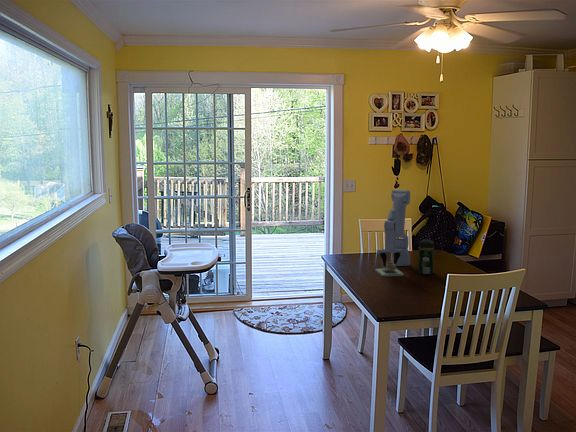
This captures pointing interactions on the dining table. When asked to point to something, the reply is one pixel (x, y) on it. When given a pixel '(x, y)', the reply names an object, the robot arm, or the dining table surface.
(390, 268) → the collar
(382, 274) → the pin board
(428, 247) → the coffee jar
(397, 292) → the dining table surface
